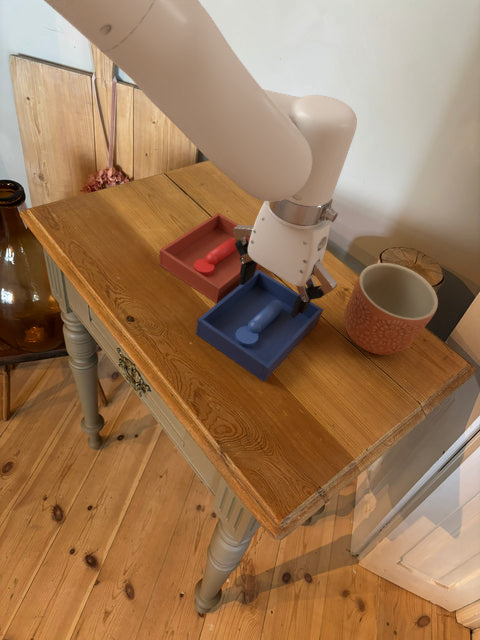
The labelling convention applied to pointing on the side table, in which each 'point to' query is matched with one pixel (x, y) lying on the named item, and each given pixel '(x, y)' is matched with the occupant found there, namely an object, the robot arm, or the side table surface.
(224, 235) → the red bin
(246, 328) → the blue spoon
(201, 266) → the red spoon
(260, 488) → the side table surface
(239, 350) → the blue bin
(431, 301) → the planter
